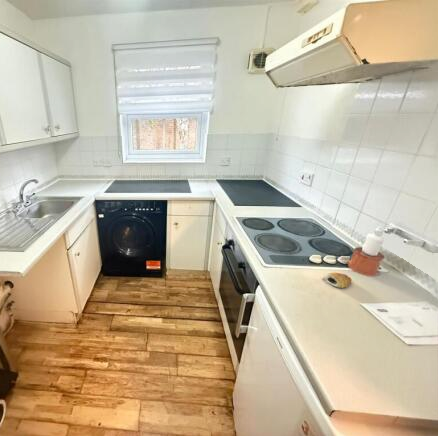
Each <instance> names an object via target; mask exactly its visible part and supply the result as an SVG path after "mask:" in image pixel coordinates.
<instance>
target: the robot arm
mask: <svg viewBox="0 0 438 436" xmlns="http://www.w3.org/2000/svg"><path fill="white" fill-rule="evenodd" d="M402 223H403V222H391V223H389V224H388V227H387V228H384V229H383V233H385V234H386V235H387V234H388V235H389V234H394V235H395V236H397V237H399V238H401V239H403V243H404V244H406V245H407V246H408V245H409V246H410V245H411V246H414V247H418V248H420V249H422V250H424V251H426V252H428V253H431V254H433V253H438V241H436V240H434V239H432V238H429V237H427V236H426V235H424V234H421V233H419V232H417V231H415V230H413V229H411V228H408V227H406V226H404V225H402Z"/></svg>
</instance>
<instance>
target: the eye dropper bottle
mask: <svg viewBox="0 0 438 436" xmlns="http://www.w3.org/2000/svg"><path fill="white" fill-rule="evenodd" d="M383 233H384V230H383V229H382V226H380V225H379V226H378V227H377V228H374V230H373V232H372V233H371V232H370V233H368V234H367V236H366V238H365V240H364V242H363V245H362V247H363V248H362V250H363V251H364V252H365V253H366V254H368V255H371V256H377V254H378V252H380V249H381V248H382V245H383V243H384V238H383V236H382V234H383Z"/></svg>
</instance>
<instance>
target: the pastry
mask: <svg viewBox="0 0 438 436" xmlns="http://www.w3.org/2000/svg"><path fill="white" fill-rule="evenodd" d="M323 279H324V282H326V283H327V284H329V285H331V286H333V287H335V288H337V289H344V288H347V287H348V286H350V284H351V283H352V278H351V277H350V276H348V275H347V274H345V273H340V272H330V273H328V274H327V275H326V276H324V277H323Z"/></svg>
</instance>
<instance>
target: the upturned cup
mask: <svg viewBox="0 0 438 436" xmlns="http://www.w3.org/2000/svg"><path fill="white" fill-rule="evenodd" d="M362 248H363V246H358V247H355V248H354V250H353V252H352V256H351V258H350V261H348V263H347V266H348V268H349V269H350V270H352V271H354V272H356V273H358V274H361V275H365V276H370V277H374V276H377V275H378V274H379V269H380V267H381V264H382V263H383V260H384V259H385V255H384V254H383V253H382V252H380V251H379V252H378V254H377V256H371V255H368V254H366V253H365V252H364V251H363V250H362Z"/></svg>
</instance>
